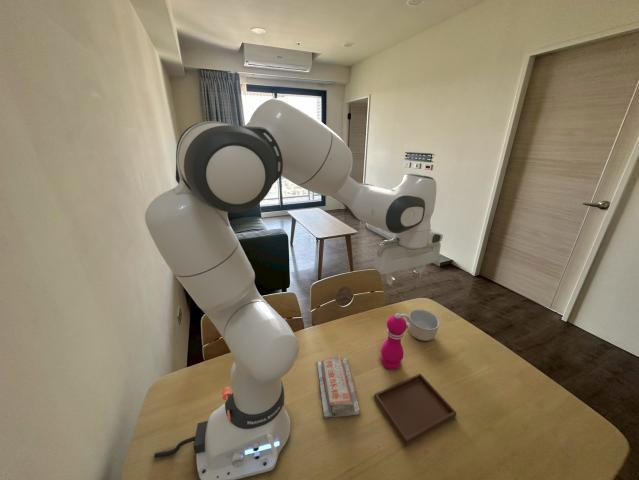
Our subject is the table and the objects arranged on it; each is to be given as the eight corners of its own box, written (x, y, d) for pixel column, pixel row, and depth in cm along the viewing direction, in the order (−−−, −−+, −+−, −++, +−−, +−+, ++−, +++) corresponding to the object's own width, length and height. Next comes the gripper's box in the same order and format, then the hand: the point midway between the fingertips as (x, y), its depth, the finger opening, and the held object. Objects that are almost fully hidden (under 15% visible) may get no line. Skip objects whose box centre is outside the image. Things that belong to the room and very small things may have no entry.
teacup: (437, 331, 98) (441, 315, 95) (433, 350, 90) (437, 332, 87) (402, 318, 105) (404, 303, 102) (394, 334, 96) (397, 317, 93)
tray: (405, 445, 62) (406, 441, 61) (373, 398, 73) (374, 393, 72) (455, 417, 68) (456, 412, 67) (419, 377, 79) (420, 373, 78)
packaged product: (361, 403, 66) (324, 407, 65) (360, 415, 68) (324, 419, 67) (347, 350, 83) (317, 352, 82) (346, 361, 85) (317, 363, 84)
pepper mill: (399, 354, 88) (407, 307, 80) (403, 372, 81) (413, 322, 73) (378, 352, 88) (384, 305, 81) (380, 370, 82) (388, 320, 74)
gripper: (386, 246, 61) (380, 294, 66) (447, 234, 68) (438, 278, 74) (371, 237, 66) (367, 282, 71) (429, 227, 74) (422, 268, 79)
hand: (403, 280), depth 73 cm, fingers open, 8 cm apart
